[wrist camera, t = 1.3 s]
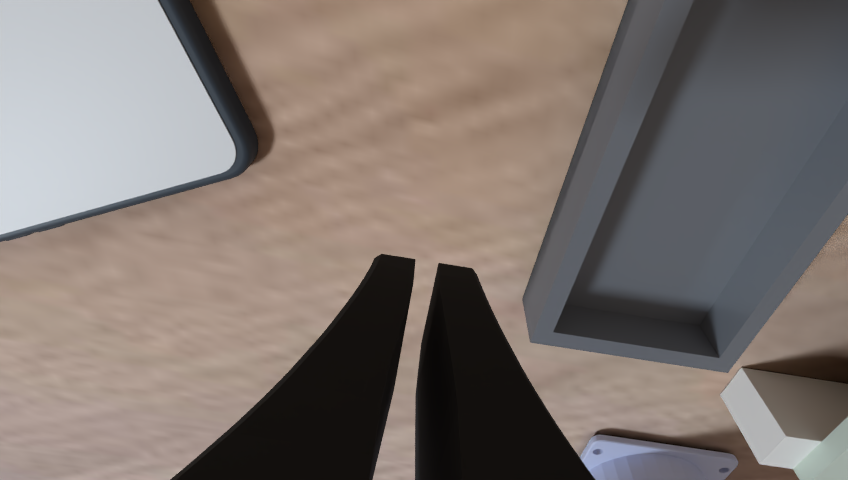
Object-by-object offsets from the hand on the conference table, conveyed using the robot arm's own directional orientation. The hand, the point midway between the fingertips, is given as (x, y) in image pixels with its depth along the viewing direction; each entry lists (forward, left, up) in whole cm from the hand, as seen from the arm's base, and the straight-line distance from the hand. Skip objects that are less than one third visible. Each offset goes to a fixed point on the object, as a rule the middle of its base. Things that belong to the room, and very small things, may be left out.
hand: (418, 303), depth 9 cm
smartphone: (-2, +15, -10) cm, 18 cm away
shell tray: (0, -9, -9) cm, 13 cm away
